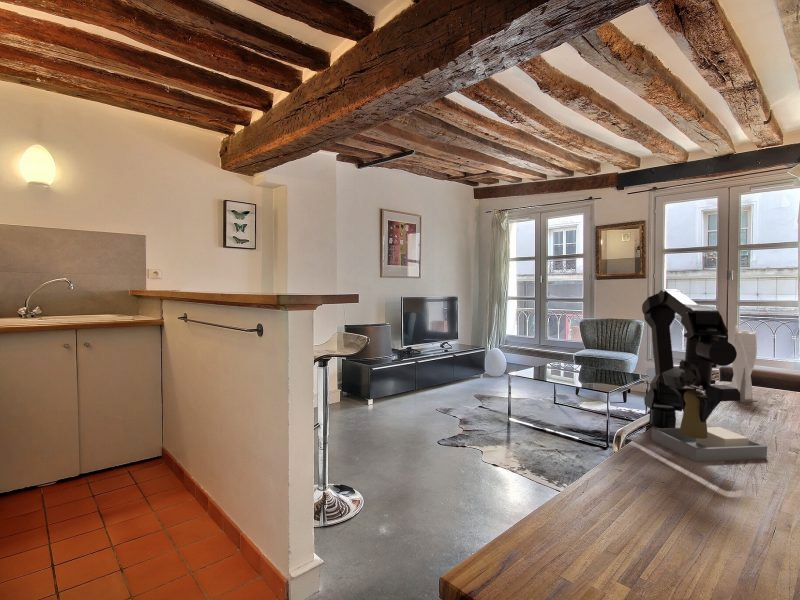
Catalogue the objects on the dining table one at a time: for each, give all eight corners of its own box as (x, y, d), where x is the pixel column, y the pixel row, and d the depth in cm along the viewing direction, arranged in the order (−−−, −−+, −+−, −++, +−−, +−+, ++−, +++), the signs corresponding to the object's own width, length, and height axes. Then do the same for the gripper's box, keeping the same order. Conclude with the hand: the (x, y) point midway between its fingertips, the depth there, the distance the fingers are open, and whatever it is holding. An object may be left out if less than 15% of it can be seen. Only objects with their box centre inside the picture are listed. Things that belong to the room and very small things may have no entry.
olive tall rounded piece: (704, 432, 110) (707, 390, 110) (710, 440, 105) (713, 396, 104) (677, 428, 113) (680, 387, 112) (681, 435, 107) (684, 392, 107)
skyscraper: (720, 396, 168) (726, 325, 166) (737, 395, 170) (742, 325, 168) (742, 402, 159) (748, 327, 158) (759, 401, 161) (765, 327, 160)
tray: (650, 443, 115) (651, 428, 115) (714, 440, 118) (715, 426, 118) (695, 466, 101) (696, 449, 101) (766, 462, 104) (767, 446, 104)
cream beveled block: (696, 442, 114) (697, 427, 113) (718, 441, 115) (719, 426, 115) (723, 454, 106) (724, 439, 106) (747, 453, 107) (748, 438, 107)
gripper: (643, 351, 116) (639, 408, 116) (703, 366, 97) (698, 433, 98) (679, 351, 117) (675, 407, 118) (744, 365, 99) (739, 431, 100)
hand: (694, 418), depth 109 cm, fingers closed on olive tall rounded piece, 4 cm apart
